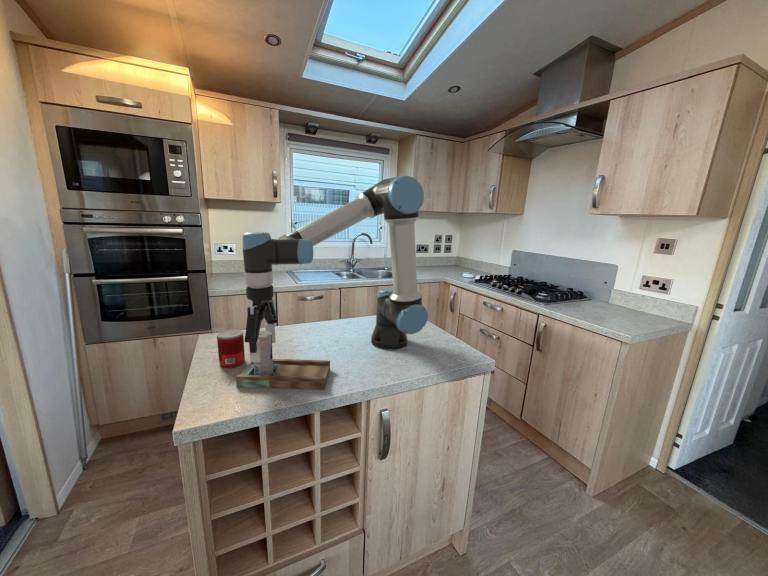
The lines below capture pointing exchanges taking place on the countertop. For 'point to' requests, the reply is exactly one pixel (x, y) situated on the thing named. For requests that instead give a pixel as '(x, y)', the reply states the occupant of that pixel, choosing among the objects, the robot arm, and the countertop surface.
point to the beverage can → (264, 355)
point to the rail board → (288, 375)
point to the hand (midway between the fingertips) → (263, 351)
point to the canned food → (231, 348)
